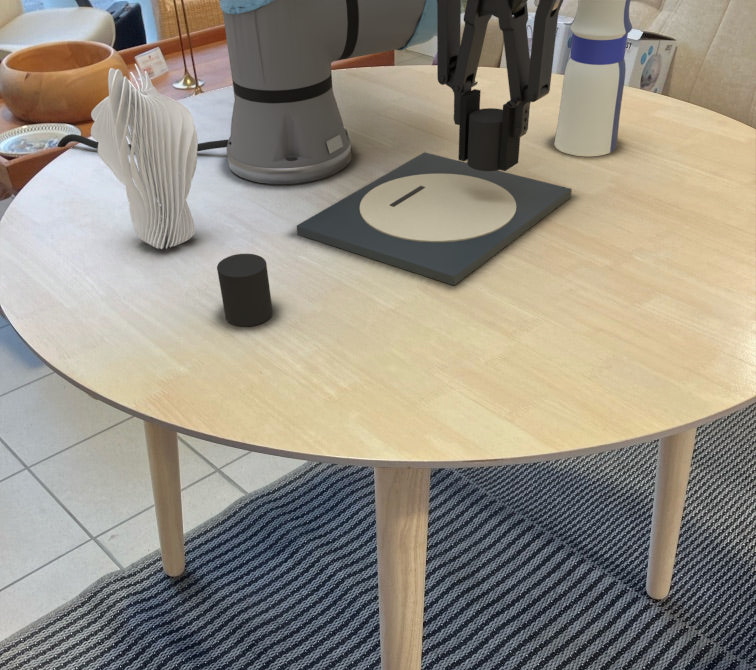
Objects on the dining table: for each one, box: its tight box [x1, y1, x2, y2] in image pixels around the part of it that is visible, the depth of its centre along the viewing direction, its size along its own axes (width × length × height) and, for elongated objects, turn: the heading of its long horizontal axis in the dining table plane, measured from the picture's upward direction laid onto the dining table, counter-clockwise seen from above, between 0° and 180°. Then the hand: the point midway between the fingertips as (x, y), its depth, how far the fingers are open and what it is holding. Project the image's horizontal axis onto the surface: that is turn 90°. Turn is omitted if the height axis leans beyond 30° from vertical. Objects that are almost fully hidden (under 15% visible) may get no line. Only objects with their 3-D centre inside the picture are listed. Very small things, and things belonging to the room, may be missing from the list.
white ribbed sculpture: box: [90, 63, 199, 250], centre depth 85 cm, size 8×8×18 cm
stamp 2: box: [466, 107, 503, 171], centre depth 90 cm, size 4×4×5 cm
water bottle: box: [553, 0, 633, 157], centre depth 99 cm, size 8×9×25 cm
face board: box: [296, 151, 573, 286], centre depth 93 cm, size 20×24×1 cm
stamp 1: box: [216, 253, 273, 327], centre depth 78 cm, size 4×4×5 cm
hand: (488, 160), depth 92 cm, fingers closed on stamp 2, 4 cm apart
